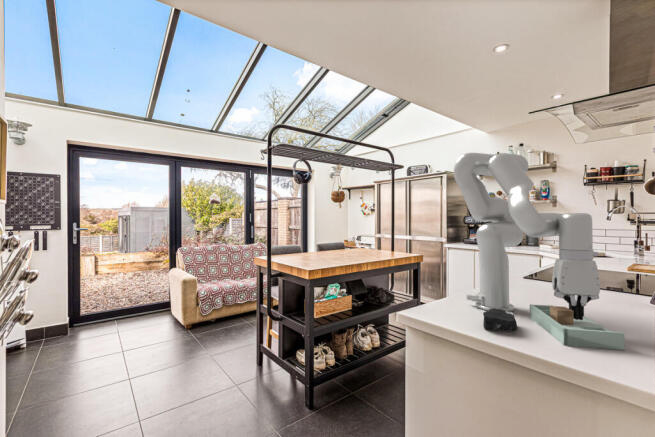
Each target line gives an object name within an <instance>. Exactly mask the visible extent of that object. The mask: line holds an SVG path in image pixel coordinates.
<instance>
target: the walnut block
mask: <svg viewBox="0 0 655 437" xmlns="http://www.w3.org/2000/svg"><path fill="white" fill-rule="evenodd" d="M550 317H551V318H552V319H554V320H555V321H556V322H558V323H559V324H562V325H574V311H572V310H571V309H569V307H566V306H555V305H550Z"/></svg>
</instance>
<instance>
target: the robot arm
mask: <svg viewBox="0 0 655 437" xmlns="http://www.w3.org/2000/svg"><path fill="white" fill-rule="evenodd" d="M528 171H529V162H528V160H527V159H526V157H525V156H523V155H521V154H518V153H505V152H502V153H497V154H493V153H481V152H467V153H463V154H461V155H460V156H459V157H458V158H457V159H456V161H455V163H454V166H453V176H454V180H455V182H456V184H457V186H458V188H459V190H460V192H461V194H462V196H463V199H464V201H465V204H466V206H467V208H468V211H469V214H470V215H471V217H472V219H473V220H474V221H477V222H483V223H484V222H487V223H484V224H482V225H481V226H479V228H477V231H476V233H475V234H476V235H475V237H476V244H477V248H478V256H479V257H478V259H479V260H478V262H479V292H477V294H474V295H472V294H466V295H465V297H466V298H465V299H466V300H467V301H471V302H475V307H477V308H478V309H481V310H483V311H486V312H487V311H489V310H490V309H491V308H496V309H503V310H506V311H511V312H512V313H513V311H515V306H514V305H513V304H512V303H510V266H509V265H510V262H509V261H510V260H509V256H508V253H507V251H506V248H511V247H512V248H513V247H516V246H518V245H520V243H521V242H522V241H523V239H524V235H526V236H528V237H531V238H551V237H558V258H555V261H554V264H553V265H554V266H553V271H552V277H551V278H552V280H551V283H552V284H551V287H552V290H553V291H554V292H553V296H554V297H555V298H557V299H562V300H564V301H566V303H568V308H569V309H571V310H572V311H574V319H575V320H578V319H579V320H583V316H585V307H586V306H587V304H588V303H589V302H590V301H594V300H596V301H597V300H599V299H600V295H599V294H600V293H601V280H600V274H599V269H598V266H597V263H596V260H594V258H595V257H598V256H599V252H598V251H595V250H594V248H593V247H594V246H593V241H594V239H593V216H592V215H591V214H589V213H585V212H584V213H583V212H569V213H558V212H557V213H556V212H539V211H538V210H537V209H536V207H535V206H534V205H533V203H532V202H531V200H530V198H529V192H531V191H532V189H533V188H534V182H533V180H532V179H531V178H530V177H529V176H528V174H527V172H528ZM478 176H488V177H489V176H491V177H493V178H494V179H495V181H496V183H497V184H498V185H499V187H500V188H501V189H502V191H503V192H504V194H505V195H506V196H507V200H506V199H504V198H501V197H496V196H491V195H490V193H489V192H488V190H487V188H486V186H485V184H484V182H482V180H481V179H479V177H478Z"/></svg>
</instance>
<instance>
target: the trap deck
mask: <svg viewBox="0 0 655 437" xmlns="http://www.w3.org/2000/svg"><path fill="white" fill-rule="evenodd" d="M550 306H551V304H550V305H549V304H548V305H547V304H546V305H545V304H544V305H543V304H529V318H530V319H532V321H534V322H535V323H536V324H538V326H540V327H541V328H542V329H543V330H545V331H546V332H547V333H548V334H550V335H551V336H552V337H554V338H555V339H556V340H557V341H558V342H559V343H560V344H562V345H563V346H567V347H568V346H569V347H581V348H591V349H592V348H594V349H606V350H617V351H625V350H626V348H625V332H623V331H614V330H610V329H609V328H606V327H605V326H603V325H601V324H600V323H599V322H596V321H594V320H593V319H591V318H589V317H587V316H586V315H584V316H583V320H579V319H578V320H575V319H574V325H562V324H559V323H558V322H556V321H555V320H554V319H552V318H551V317H550Z"/></svg>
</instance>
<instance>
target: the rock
mask: <svg viewBox="0 0 655 437" xmlns="http://www.w3.org/2000/svg"><path fill="white" fill-rule="evenodd" d="M482 314H483V329H485V330H486V331H489V330H490V331H500V332H501V331H502V332H516V331H517V329H518V324H517V319H516V318H515V315H514V312H513V311H512V312H511V311H506V310H503V309H496V308H491V309H490V310H489V311H487V310H486V311H484V312H482Z"/></svg>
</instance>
